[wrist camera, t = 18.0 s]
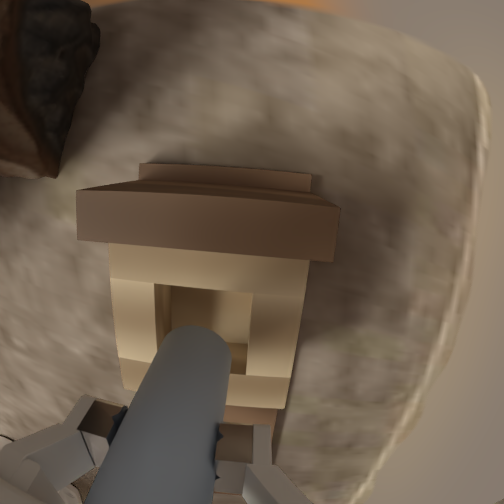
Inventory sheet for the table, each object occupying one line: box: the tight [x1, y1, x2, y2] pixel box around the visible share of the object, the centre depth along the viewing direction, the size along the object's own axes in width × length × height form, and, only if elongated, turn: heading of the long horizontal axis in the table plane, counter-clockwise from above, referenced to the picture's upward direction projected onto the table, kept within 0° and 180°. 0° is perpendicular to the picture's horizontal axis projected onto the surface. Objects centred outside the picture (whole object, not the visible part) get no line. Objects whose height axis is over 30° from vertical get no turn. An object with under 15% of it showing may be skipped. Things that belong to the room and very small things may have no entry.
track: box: [76, 163, 341, 495], centre depth 18 cm, size 31×10×8 cm, turn 175°
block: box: [108, 243, 310, 409], centre depth 17 cm, size 9×9×5 cm
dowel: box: [84, 325, 232, 504], centre depth 8 cm, size 3×3×10 cm
